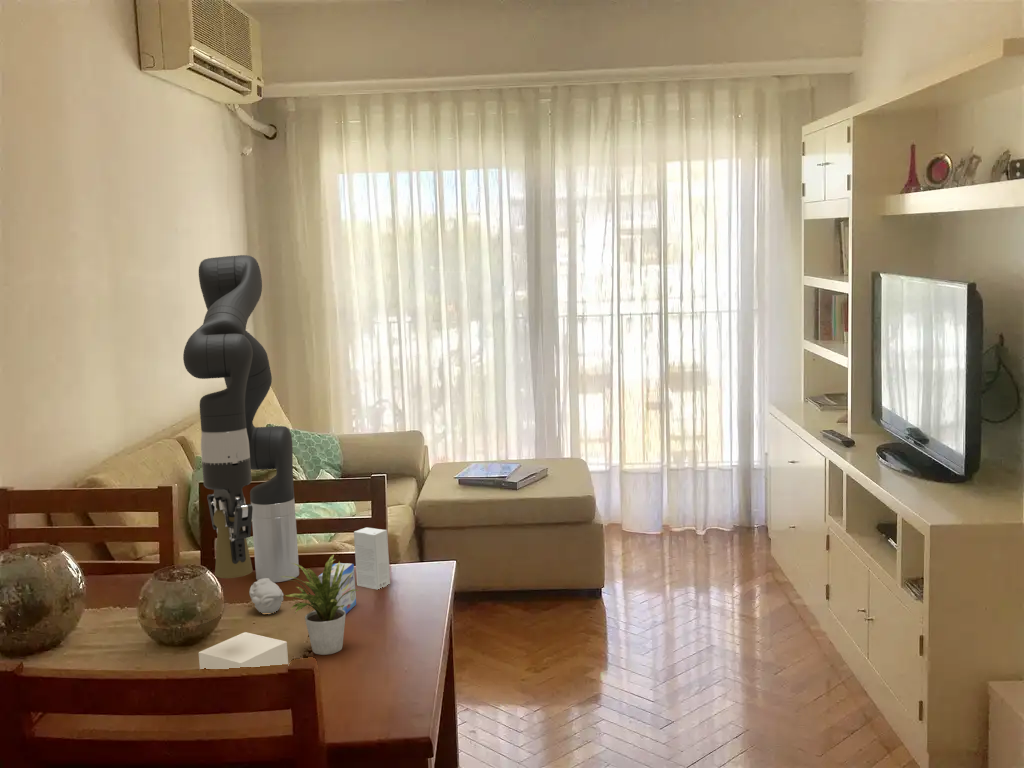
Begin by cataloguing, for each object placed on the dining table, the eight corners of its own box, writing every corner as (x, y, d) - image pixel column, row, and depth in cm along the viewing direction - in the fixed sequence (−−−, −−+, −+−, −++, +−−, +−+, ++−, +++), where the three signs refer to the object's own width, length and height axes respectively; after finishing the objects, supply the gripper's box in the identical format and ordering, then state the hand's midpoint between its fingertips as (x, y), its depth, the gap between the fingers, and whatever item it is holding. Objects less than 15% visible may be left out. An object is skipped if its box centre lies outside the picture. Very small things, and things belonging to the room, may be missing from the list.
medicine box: (342, 619, 182) (339, 575, 181) (320, 618, 183) (317, 574, 182) (356, 605, 190) (354, 563, 189) (335, 604, 191) (333, 562, 190)
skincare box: (391, 584, 202) (388, 529, 200) (377, 590, 198) (374, 534, 197) (369, 580, 205) (366, 526, 204) (355, 586, 202) (352, 531, 200)
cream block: (200, 681, 157) (198, 652, 156) (246, 659, 165) (245, 632, 165) (243, 693, 151) (241, 663, 151) (288, 670, 160) (286, 641, 159)
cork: (219, 568, 159) (214, 504, 158) (256, 566, 160) (251, 502, 159) (210, 579, 153) (205, 512, 152) (248, 577, 154) (244, 510, 153)
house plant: (292, 633, 176) (286, 547, 174) (367, 629, 176) (363, 543, 175) (278, 664, 161) (271, 571, 160) (360, 660, 162) (354, 567, 160)
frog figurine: (266, 606, 191) (264, 572, 190) (292, 611, 188) (289, 577, 187) (243, 616, 186) (241, 581, 185) (269, 621, 182) (267, 586, 182)
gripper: (187, 455, 158) (195, 555, 160) (219, 465, 147) (227, 574, 148) (231, 448, 162) (238, 546, 164) (265, 458, 151) (272, 563, 153)
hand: (233, 559), depth 156 cm, fingers closed on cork, 4 cm apart
